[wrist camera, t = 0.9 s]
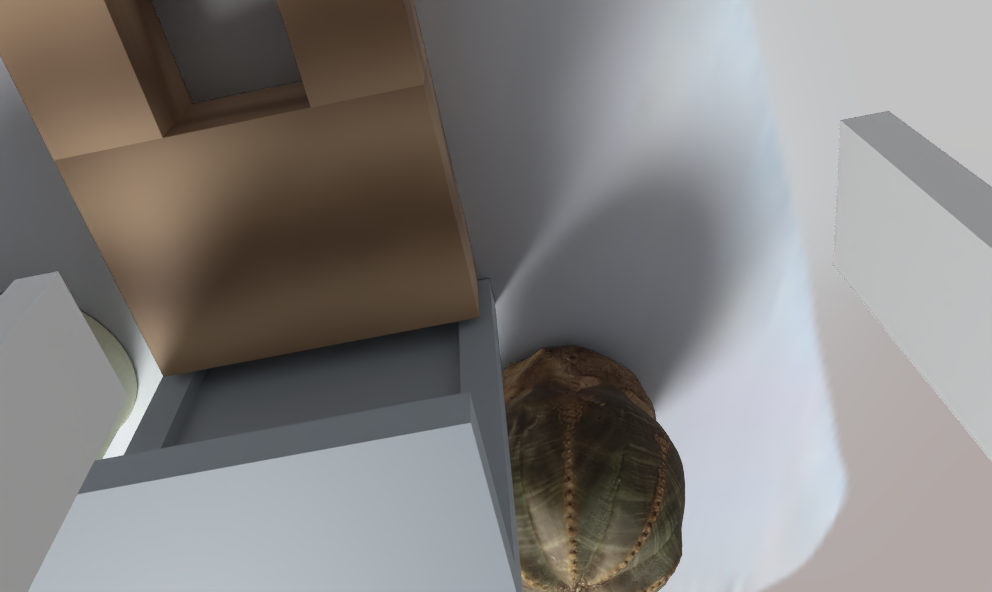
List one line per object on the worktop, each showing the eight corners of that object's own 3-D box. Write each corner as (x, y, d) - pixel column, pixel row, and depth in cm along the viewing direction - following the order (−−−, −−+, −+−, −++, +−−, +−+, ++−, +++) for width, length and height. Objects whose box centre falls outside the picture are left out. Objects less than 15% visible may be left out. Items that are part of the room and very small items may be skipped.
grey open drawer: (125, 217, 35) (-121, 530, 20) (460, 150, 35) (470, 422, 19) (194, 361, 40) (34, 713, 24) (495, 304, 39) (527, 631, 23)
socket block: (11, -51, 30) (-45, -33, 26) (382, -132, 29) (373, -125, 26) (188, 326, 39) (163, 377, 35) (476, 271, 38) (479, 317, 34)
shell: (433, 331, 39) (428, 515, 29) (656, 314, 40) (730, 492, 29) (452, 493, 45) (454, 695, 35) (648, 477, 45) (707, 674, 35)
